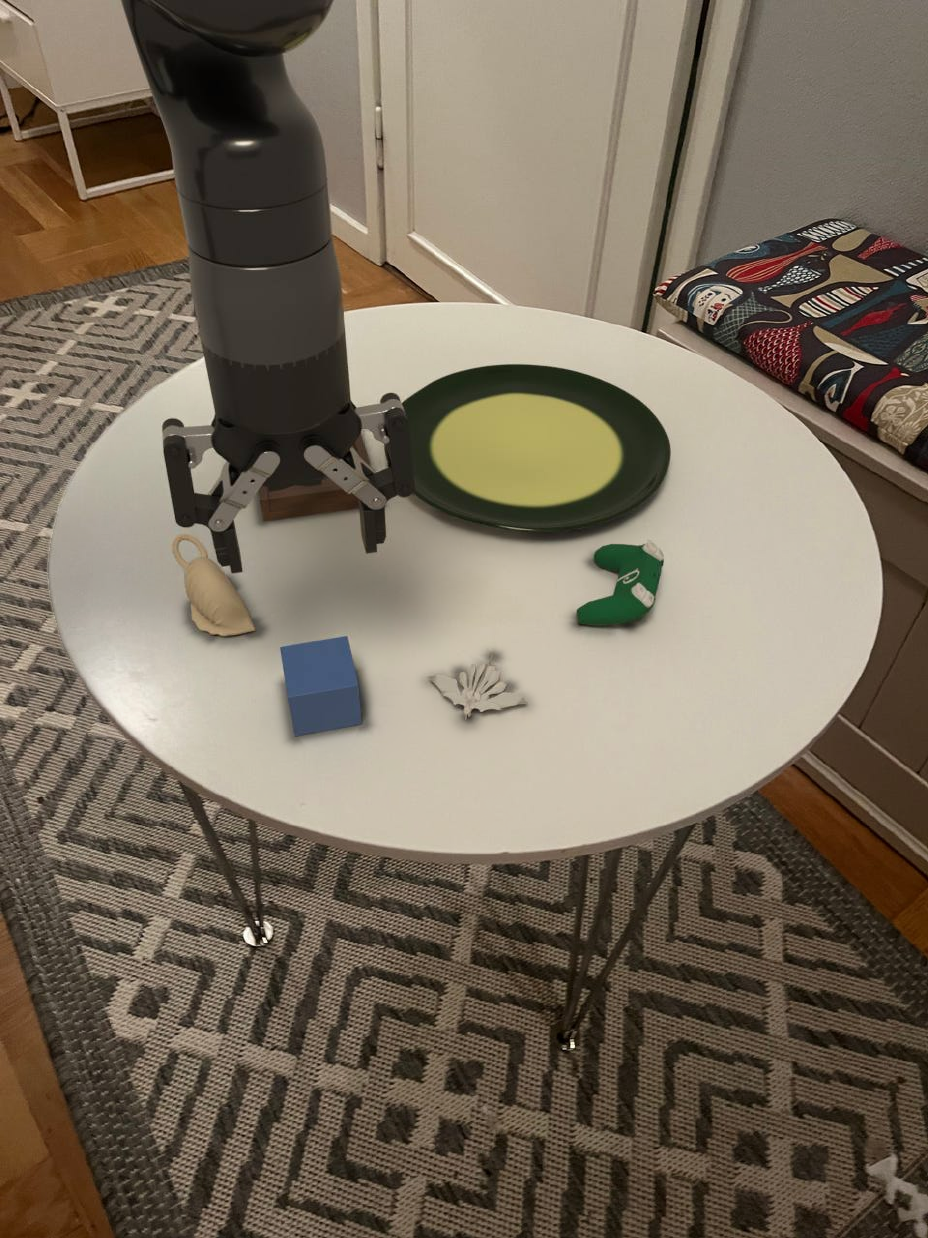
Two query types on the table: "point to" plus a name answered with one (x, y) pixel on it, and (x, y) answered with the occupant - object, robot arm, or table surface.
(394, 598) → the table surface
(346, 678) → the cube
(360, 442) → the tray
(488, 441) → the plate
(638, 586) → the green christmas stocking
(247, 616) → the decorative ornament
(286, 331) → the robot arm
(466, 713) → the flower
